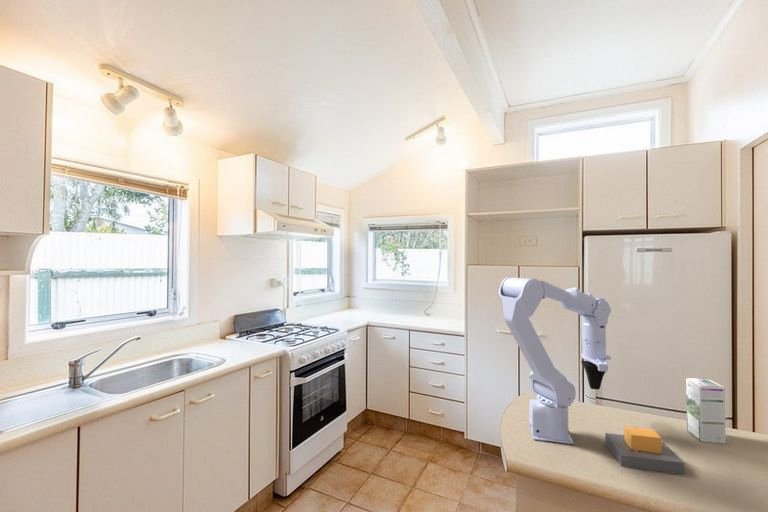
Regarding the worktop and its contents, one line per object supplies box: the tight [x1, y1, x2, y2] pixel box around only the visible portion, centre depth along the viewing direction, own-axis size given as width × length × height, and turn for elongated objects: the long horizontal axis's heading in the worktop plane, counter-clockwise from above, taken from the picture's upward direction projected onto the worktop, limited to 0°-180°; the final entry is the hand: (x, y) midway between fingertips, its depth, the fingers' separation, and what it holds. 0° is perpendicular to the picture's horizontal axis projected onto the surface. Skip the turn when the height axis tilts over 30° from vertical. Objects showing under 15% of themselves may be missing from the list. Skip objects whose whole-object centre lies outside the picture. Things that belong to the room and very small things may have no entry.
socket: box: [604, 432, 685, 475], centre depth 82 cm, size 12×10×3 cm
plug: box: [623, 426, 662, 453], centre depth 82 cm, size 6×4×6 cm, turn 75°
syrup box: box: [685, 377, 727, 444], centre depth 91 cm, size 6×6×14 cm
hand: (594, 388), depth 97 cm, fingers closed
